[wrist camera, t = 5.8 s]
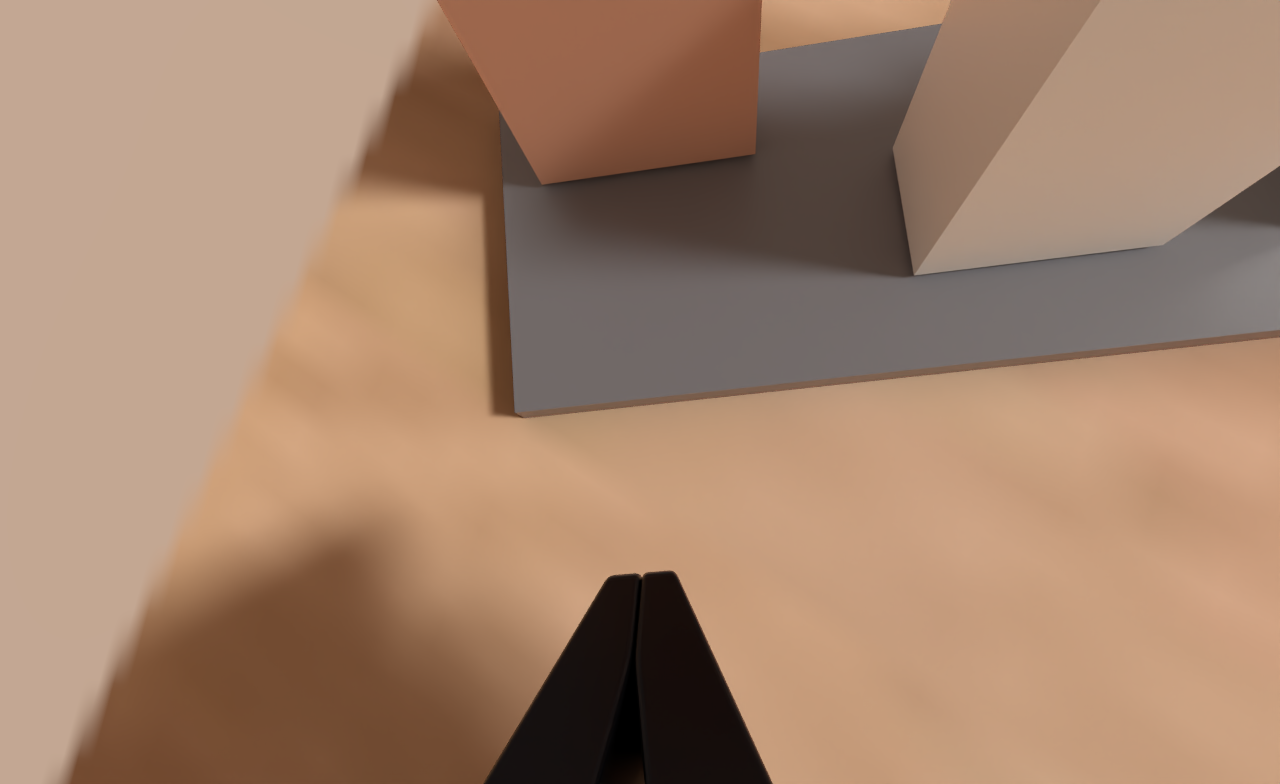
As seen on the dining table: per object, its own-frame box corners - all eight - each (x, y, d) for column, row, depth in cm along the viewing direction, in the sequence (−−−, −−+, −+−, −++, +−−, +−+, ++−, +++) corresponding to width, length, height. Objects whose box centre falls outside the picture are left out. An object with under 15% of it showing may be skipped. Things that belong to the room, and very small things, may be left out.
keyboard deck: (1635, 298, 15) (1685, 285, 14) (524, 417, 17) (514, 412, 17) (1510, -44, 16) (1548, -74, 16) (508, 112, 19) (498, 94, 18)
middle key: (1163, 245, 15) (1666, -98, 7) (913, 275, 16) (1106, -7, 8) (1131, 113, 16) (1561, -345, 8) (892, 147, 16) (1048, -244, 8)
